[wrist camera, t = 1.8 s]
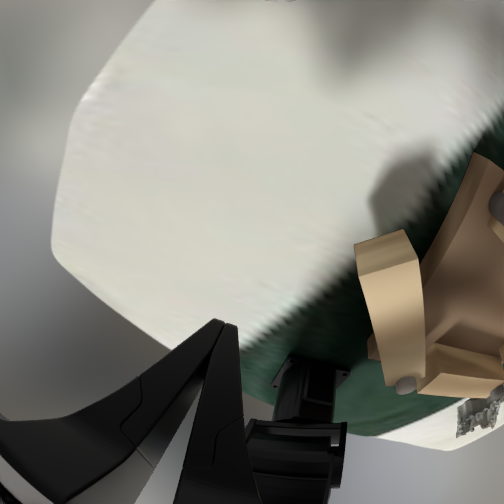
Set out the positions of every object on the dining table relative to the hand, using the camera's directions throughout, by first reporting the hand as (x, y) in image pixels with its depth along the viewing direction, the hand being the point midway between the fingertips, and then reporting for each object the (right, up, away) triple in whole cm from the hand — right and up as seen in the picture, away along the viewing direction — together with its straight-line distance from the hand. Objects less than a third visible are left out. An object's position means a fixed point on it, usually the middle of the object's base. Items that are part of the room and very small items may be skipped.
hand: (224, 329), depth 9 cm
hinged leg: (+10, -1, +7) cm, 13 cm away
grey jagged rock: (+35, -21, +16) cm, 44 cm away
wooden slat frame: (+21, -1, +7) cm, 22 cm away
